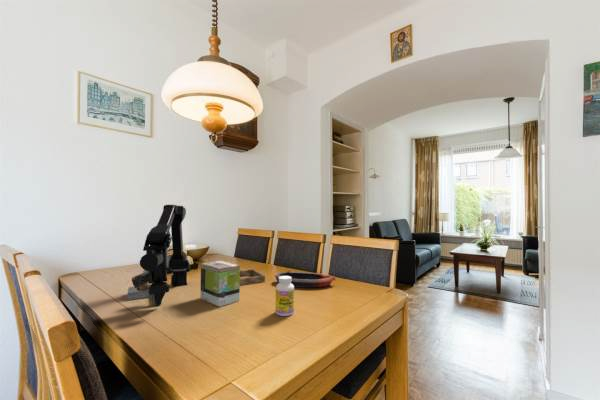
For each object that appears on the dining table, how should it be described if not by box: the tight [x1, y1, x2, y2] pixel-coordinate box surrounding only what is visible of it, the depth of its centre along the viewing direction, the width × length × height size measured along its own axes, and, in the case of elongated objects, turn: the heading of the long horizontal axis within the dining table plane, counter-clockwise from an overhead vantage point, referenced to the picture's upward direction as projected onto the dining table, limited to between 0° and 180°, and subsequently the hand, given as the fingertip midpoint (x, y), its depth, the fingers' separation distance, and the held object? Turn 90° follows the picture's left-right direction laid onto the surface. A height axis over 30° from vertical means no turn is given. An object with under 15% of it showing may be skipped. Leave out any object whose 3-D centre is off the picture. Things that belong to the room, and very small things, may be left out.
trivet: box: [240, 268, 266, 286], centre depth 141 cm, size 17×17×3 cm
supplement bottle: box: [275, 276, 295, 317], centre depth 97 cm, size 7×7×13 cm
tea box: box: [199, 260, 241, 307], centre depth 111 cm, size 15×10×15 cm, turn 47°
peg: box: [139, 282, 151, 290], centre depth 117 cm, size 4×4×9 cm
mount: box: [127, 286, 154, 301], centre depth 117 cm, size 12×9×3 cm
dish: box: [274, 270, 337, 289], centre depth 134 cm, size 16×31×5 cm, turn 75°
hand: (157, 306), depth 101 cm, fingers closed
